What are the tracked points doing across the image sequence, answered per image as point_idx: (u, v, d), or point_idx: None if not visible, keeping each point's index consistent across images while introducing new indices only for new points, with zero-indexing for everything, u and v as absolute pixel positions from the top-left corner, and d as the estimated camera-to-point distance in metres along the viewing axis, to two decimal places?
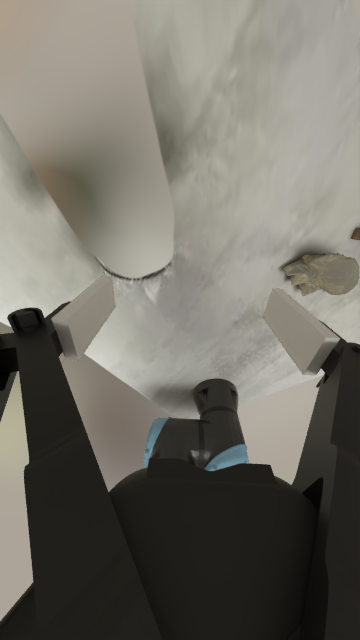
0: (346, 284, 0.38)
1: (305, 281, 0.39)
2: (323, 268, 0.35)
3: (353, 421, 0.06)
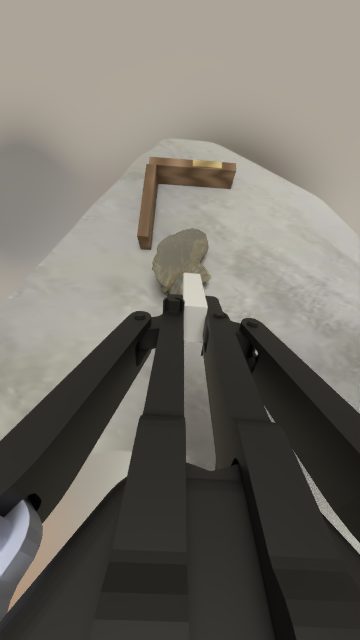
0: (191, 239, 0.33)
1: None
2: (171, 270, 0.30)
3: (235, 383, 0.07)
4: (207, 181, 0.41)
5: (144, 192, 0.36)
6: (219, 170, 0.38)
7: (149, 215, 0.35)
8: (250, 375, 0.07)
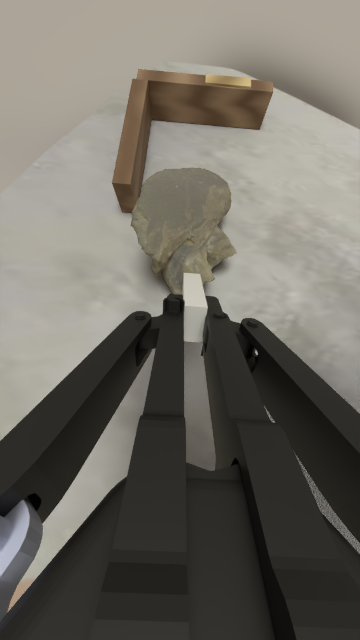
0: (204, 182, 0.19)
1: (202, 256, 0.19)
2: (167, 231, 0.16)
3: (235, 383, 0.07)
4: (226, 115, 0.27)
5: (127, 118, 0.22)
6: (247, 91, 0.24)
7: (134, 152, 0.21)
8: (250, 375, 0.07)
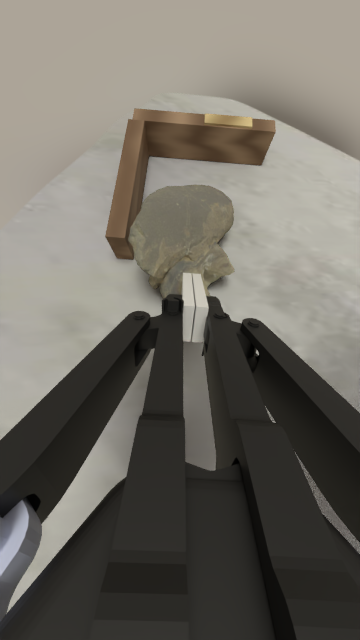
0: (207, 200, 0.19)
1: (199, 273, 0.19)
2: (165, 247, 0.16)
3: (236, 383, 0.07)
4: (227, 152, 0.26)
5: (122, 163, 0.21)
6: (248, 131, 0.23)
7: (129, 201, 0.20)
8: (251, 375, 0.07)
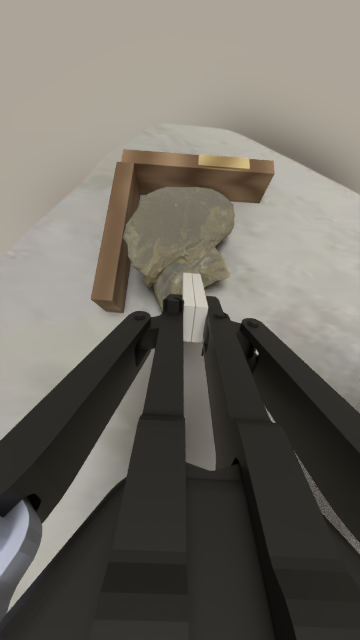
0: (207, 203, 0.19)
1: None
2: (159, 247, 0.16)
3: (236, 383, 0.07)
4: (223, 191, 0.24)
5: (110, 212, 0.20)
6: (245, 173, 0.22)
7: (117, 257, 0.19)
8: (250, 375, 0.07)
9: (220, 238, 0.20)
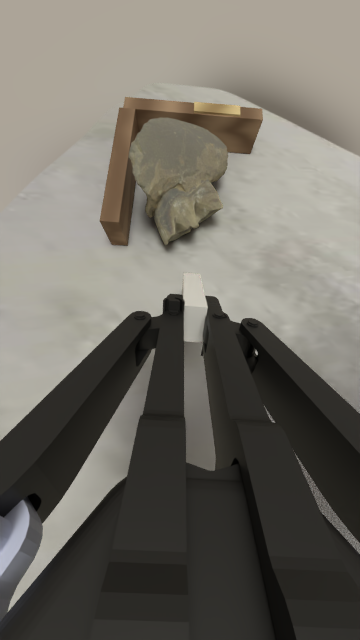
0: (203, 138, 0.21)
1: (190, 203, 0.21)
2: (160, 168, 0.18)
3: (235, 383, 0.07)
4: None
5: (114, 150, 0.22)
6: (237, 119, 0.24)
7: (122, 187, 0.21)
8: (250, 375, 0.07)
9: (214, 175, 0.23)
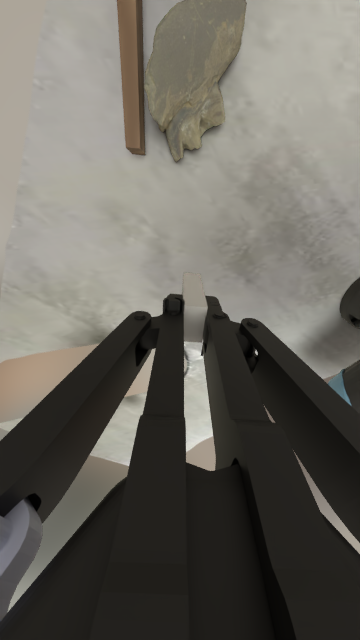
0: (215, 20, 0.20)
1: (196, 122, 0.25)
2: (170, 96, 0.22)
3: (235, 383, 0.07)
4: None
5: (121, 30, 0.21)
6: None
7: (137, 100, 0.24)
8: (250, 375, 0.07)
9: (224, 69, 0.23)
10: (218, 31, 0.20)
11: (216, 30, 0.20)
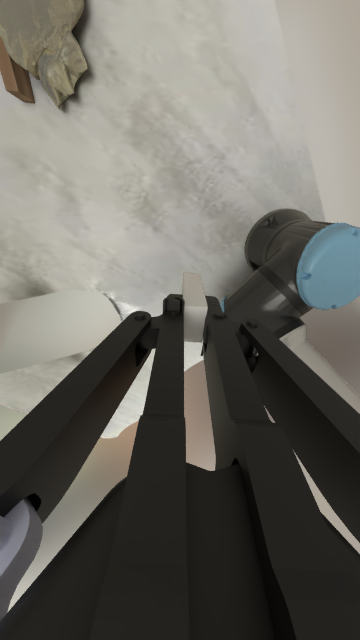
0: None
1: (60, 68, 0.29)
2: (24, 41, 0.26)
3: (235, 383, 0.07)
4: None
5: None
6: None
7: None
8: (250, 375, 0.07)
9: (73, 19, 0.27)
10: None
11: None
